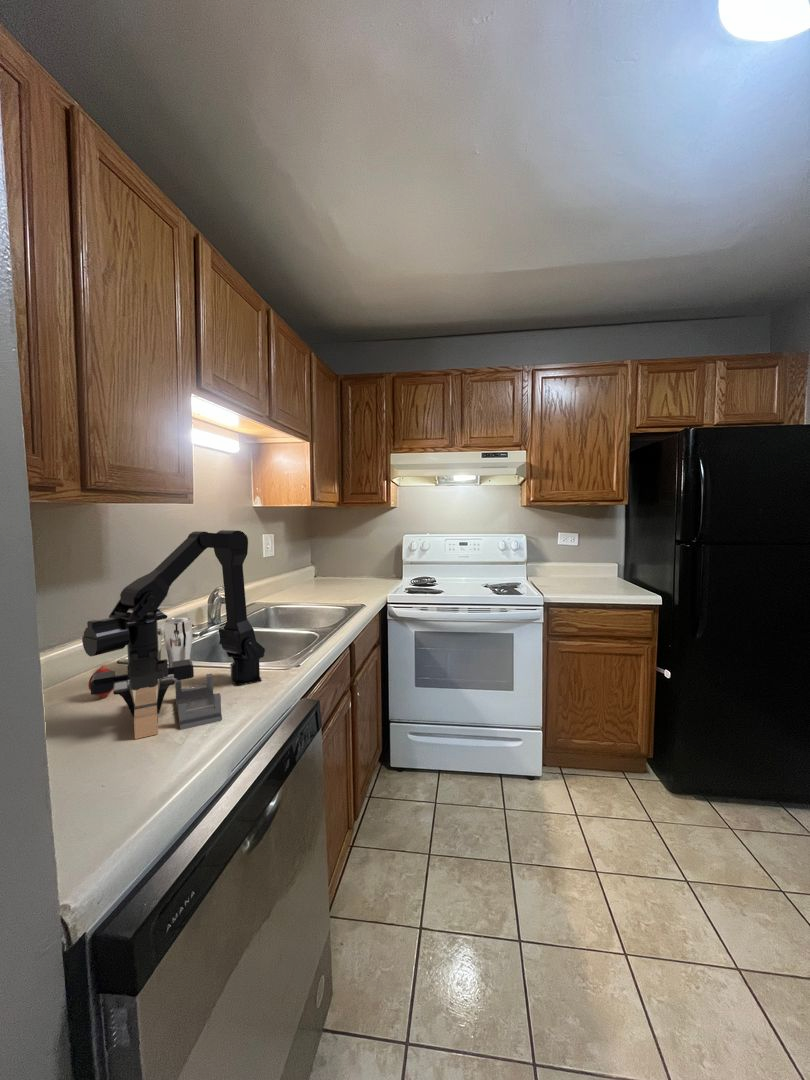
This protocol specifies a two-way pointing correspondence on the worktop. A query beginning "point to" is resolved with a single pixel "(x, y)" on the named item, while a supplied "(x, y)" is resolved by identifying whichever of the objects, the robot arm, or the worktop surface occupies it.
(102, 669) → the onion
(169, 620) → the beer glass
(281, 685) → the worktop surface
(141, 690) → the banded tan post
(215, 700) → the collar stand
